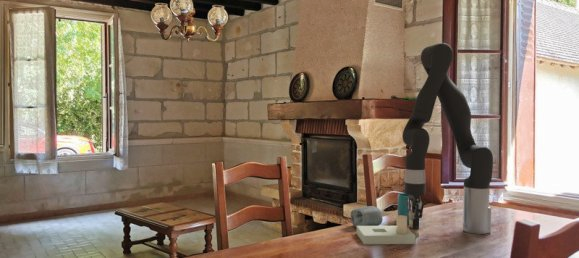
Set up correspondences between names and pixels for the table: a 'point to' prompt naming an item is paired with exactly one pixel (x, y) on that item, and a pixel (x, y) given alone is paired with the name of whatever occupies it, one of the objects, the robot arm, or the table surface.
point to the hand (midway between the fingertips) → (414, 227)
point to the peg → (414, 231)
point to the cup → (403, 205)
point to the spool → (366, 216)
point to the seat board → (387, 233)
